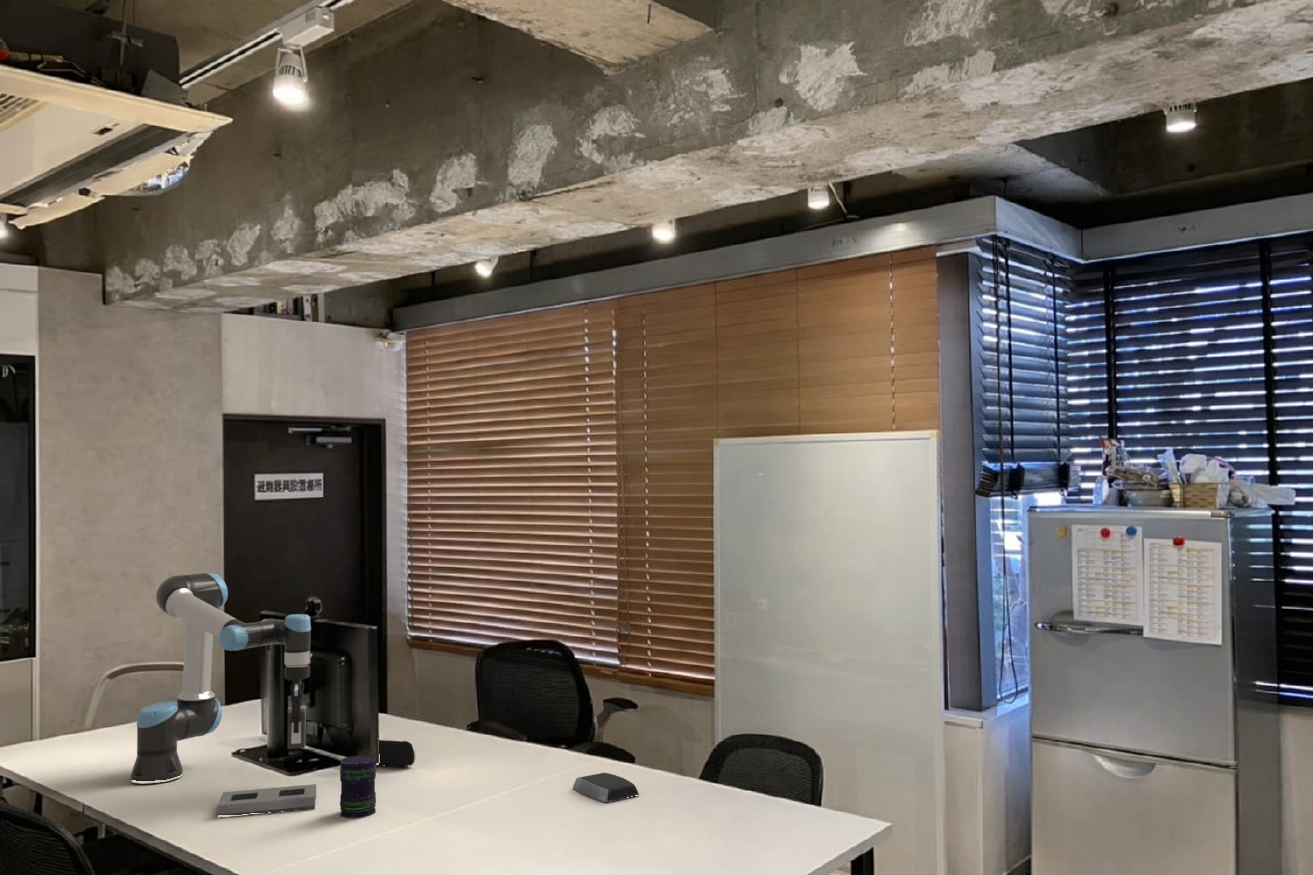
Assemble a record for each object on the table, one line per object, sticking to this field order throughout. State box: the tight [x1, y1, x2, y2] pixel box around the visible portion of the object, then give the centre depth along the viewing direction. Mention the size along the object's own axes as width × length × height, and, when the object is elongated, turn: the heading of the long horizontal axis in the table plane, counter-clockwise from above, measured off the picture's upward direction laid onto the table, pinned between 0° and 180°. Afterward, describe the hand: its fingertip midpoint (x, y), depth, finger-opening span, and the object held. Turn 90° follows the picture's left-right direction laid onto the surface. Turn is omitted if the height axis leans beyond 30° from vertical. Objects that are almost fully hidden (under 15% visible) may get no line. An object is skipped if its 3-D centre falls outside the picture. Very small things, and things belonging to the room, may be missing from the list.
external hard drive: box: [572, 772, 640, 803], centre depth 312 cm, size 13×19×4 cm
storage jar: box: [339, 754, 377, 819], centre depth 296 cm, size 10×10×15 cm
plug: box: [287, 705, 307, 750], centre depth 323 cm, size 4×5×12 cm
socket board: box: [216, 783, 317, 817], centre depth 303 cm, size 14×26×4 cm, turn 106°
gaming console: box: [378, 738, 417, 767], centre depth 346 cm, size 19×9×2 cm
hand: (296, 740), depth 323 cm, fingers closed on plug, 4 cm apart
